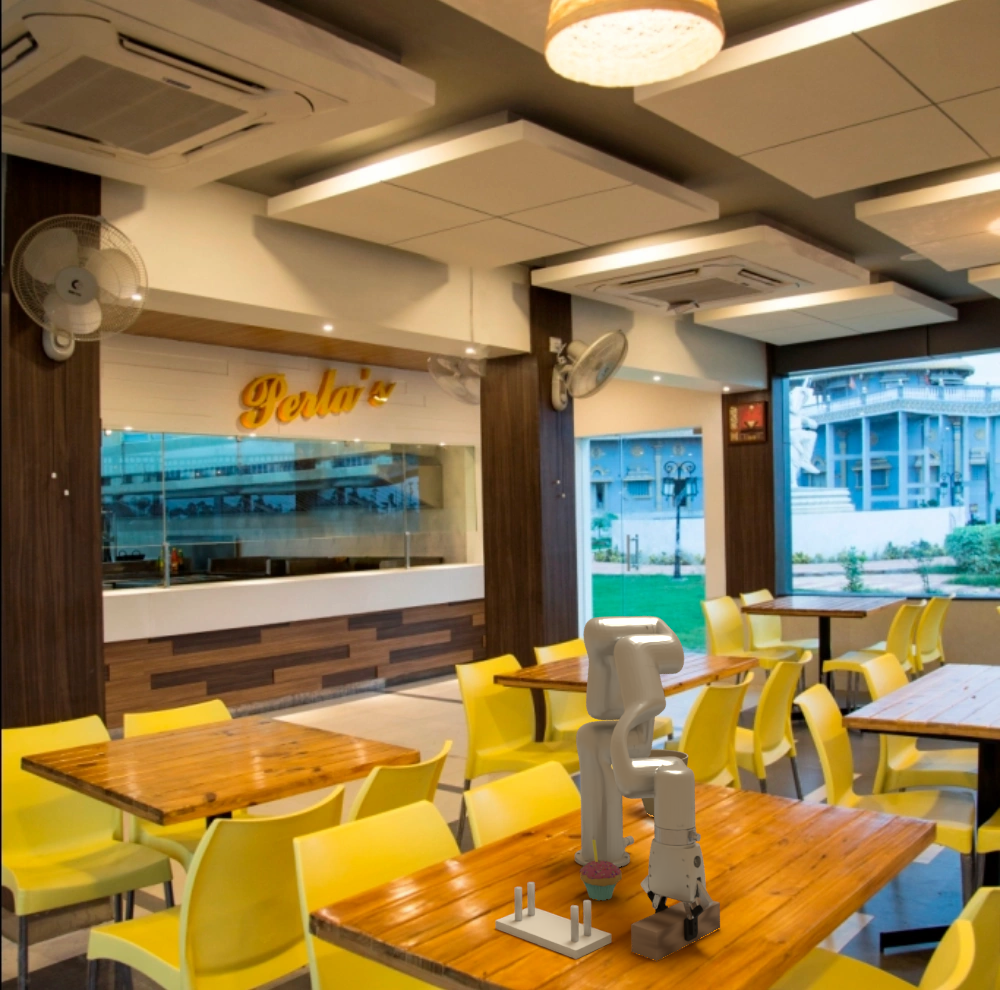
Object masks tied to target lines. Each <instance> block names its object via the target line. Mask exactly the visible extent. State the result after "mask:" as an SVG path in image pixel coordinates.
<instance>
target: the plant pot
mask: <svg viewBox="0 0 1000 990" xmlns="http://www.w3.org/2000/svg"><path fill="white" fill-rule="evenodd" d="M668 756H672V757H678V758H680V759H681V760H682V761H683V762H684V763H685V765H686V766H687V767H688V760H689V755H688V753H685V752H683V751H678V750H672V749H671V750H670V749H651V753H650V755H649V757H668ZM640 799H641V801H642V805H643V807H644V810H645V812H646V814H647V813H648V814H650V815H653V816H654V798H640Z"/></svg>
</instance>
